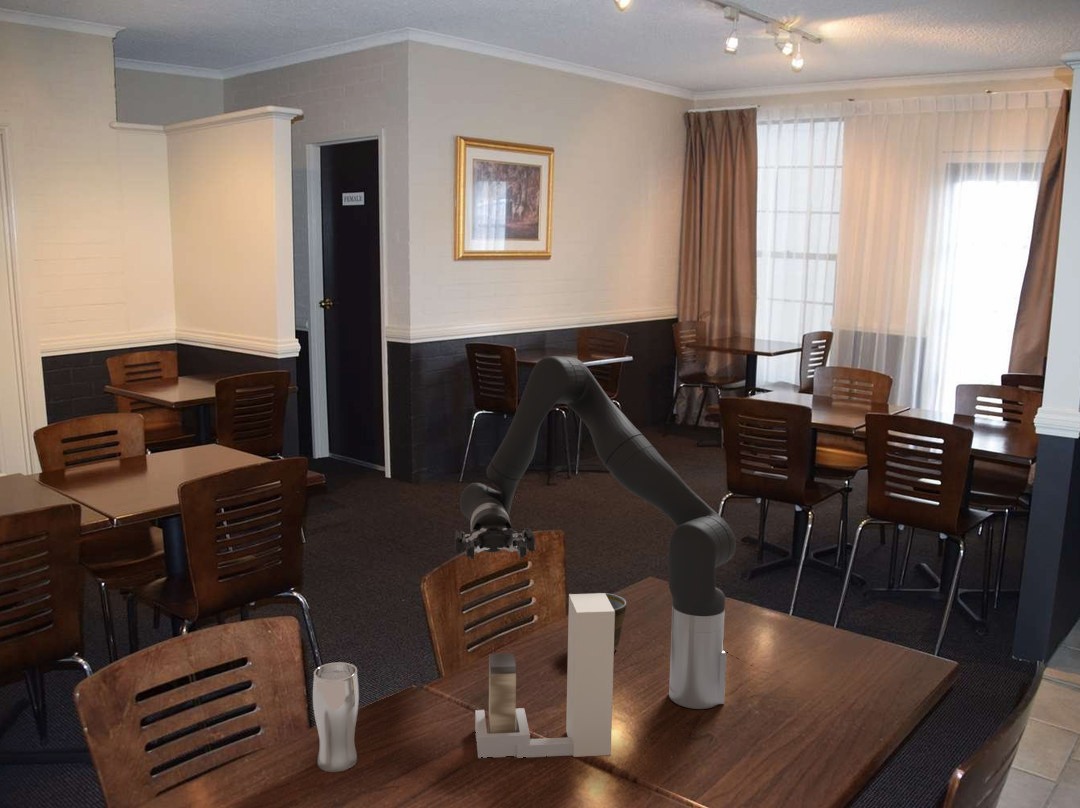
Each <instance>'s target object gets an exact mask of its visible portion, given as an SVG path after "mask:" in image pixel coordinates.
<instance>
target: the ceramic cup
mask: <svg viewBox="0 0 1080 808" xmlns="http://www.w3.org/2000/svg"><path fill="white" fill-rule="evenodd" d="M598 593H599V592H593V593H590V594H598ZM604 593H605V592H604ZM605 594H606V596H607V598H608V599H609V601H610V603H611V605H612V607H613V609H614V611H615V625H614V652H616V651H617V650H618V648H619V643H620V637H621V633H622V628H623V623H624V621H625V615H626V610H627V601H626V599H624V597H622V596H619V595H616V594H613V593H608V592H607V593H605ZM616 649H617V650H616ZM615 650H616V651H615Z"/></svg>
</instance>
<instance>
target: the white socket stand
mask: <svg viewBox="0 0 1080 808" xmlns="http://www.w3.org/2000/svg"><path fill="white" fill-rule="evenodd" d="M597 593H598V594H591V593H569V594H568V624H567V625H568V626H567V628H568V629H567V631H568V632H567V633H568V634H567V637H568V638H567V673H566V674H567V676H566V677H567V678H566V679H567V681H566V683H567V684H566V720H565V723H566V724H565V725H566V726H565V727H566V730H565V731H566V735H567V736H566V737H548V738H531V734H530V730H529V725H528V719H527V715H526V711H525V708H524V707H523V708H521V707H519V708H516V714H515V733H496V734H489V733H488V729H487V720H486V713H485V709H475V711H474V712H475V713H474V714H475V715H474V716H475V717H474V718H475V719H474V720H475V722H474V724H475V726H474V732H476V733H475V741H476V742H477V743H476V750H477V759H488V758H487V757H493V758H507V757H506V756H514V757H516V759H522V758H523V757H526V758H527V759H528V758H543V757H546V756H547V757H563V756H565V757H566V756H567V757H568V756H573V758H576V757H577V758H579V757H599V756H611V755H612V729H613V727H612V725H613V721H612V720H613V695H614V694H613V691H614V689H613V688H614V685H613V684H614V654H615V651H614V625H615V611H614V609H613V607H612V605H611V603H610V601H609V599H608V598H607V596H606V594H605V592H597ZM481 757H483V758H481ZM523 759H524V758H523Z"/></svg>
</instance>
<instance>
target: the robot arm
mask: <svg viewBox="0 0 1080 808" xmlns="http://www.w3.org/2000/svg"><path fill="white" fill-rule="evenodd" d="M525 384H526V385H525V388H524V390H523V393H522V396H521V399H520V401H519V403H518V405H517V408H516V411H515V413H514V417H513V419H512V422H511V423H510V426H509V428H508V430H507V432H506V435H505V436H504V437H503V440H502V442H501V443H500V445H499V447H498V449H497V451H496V452H495V453H494V456H493V457H492V458H491V461H490V462H489V465H488V466H487V468H486V476H487V478H488V479H489V481H490V482H491V483H493V484H494V485H495V486H496V487H497V488H498V489H499V490H500V491H499V490H495V489H494V488H492V487H490V486H487V485H486V484H483V483H481V482H472V483H470V484H467V486H465V488H464V489H463V491H462V492H461V495H460V499H459V508H460V510H461V511H460V512H461V514H463V516H464V517H466V519H467V520H468V521H469V522H470V533H466V532H464V531H463V530H462V529H457V530H455V535H454V552H455V553H457V554H460V553H462V551H464V553H465V557H468V558H469V559H470V560H475V553H477V554H478V553H481V552H485V553H493V554H494V553H498V552H501V551H503V550H505V551H507V552H510V553H513V552H517V553H518V557H519V559H524V558H525V556H527V555H528V552H534V551H536V535H534V534H535V533H533V531H532V529H531V528H528V527H527V528H524V530H522V532H517V531H516V530H514V529H513V526H512V523H511V521H510V520H511V519H510V512H511V508H512V503H513V499H514V495H515V492H516V489H517V487H518V485H519V483H520V481H521V479H522V477H524V474H525V473H526V471H527V469H528V467H529V466H530V464H531V463H532V460H533V458H534V455H535V452H536V448H537V441H538V435H539V431H540V429H541V428H540V427H541V425H542V423H543V421H544V420H545V418H546V416H548V414H549V412H550V411H551V410H552V409H553V408H554V406H556V404H558V405H559V404H565V405H566V406H568V407H569V408H570V410H572V411H573V412H574V413H575V414H576V415H577V416H578V417H579V419H580V420H581V421H582V422H583V423H584V424H585V426H586V427H587V429H588V431H589V434H590V435H591V438H592V439H591V440H592V442H593V445H594V449H595V451H596V454H597V456H598V458H599V460H600V462H602V464H603V465H604V467H605V468H606V470H608V472H609V473H611V475H612V477H614V479H616V481H617V482H618V483H619V485H620V486H622V487H623V488H624V489H625V490H626V491H628V492H630V493H631V494H632V495H634V496H636V497H637V498H639V499H640V500H643V501H644V502H646V503H648V504H649V505H652V506H653V507H655V508H657V509H658V510H659V511H661V512H662V513H663V514H665V516H667V518H669V519H670V520H671V522H673V524H674V525H675V528H674V530H673V531H672V533H671V535H670V539H669V542H668V552H667V554H668V559H667V561H668V569H667V570H668V588H669V591H670V594H671V597H672V608H671V609H672V610H671V614H672V615H671V635H670V637H671V638H670V660H669V664H670V665H669V683H668V687H669V688H668V689H669V690H668V691H669V692H668V697H669V699H670V700H671V701H672V702H674V703H675V704H676V705H679V706H682V707H684V708H688V709H693V710H694V709H695V710H696V709H697V710H705V709H710V708H713V707H716V706H718V705H723V704H725V697H726V696H725V694H726V693H725V691H726V675H727V673H726V672H727V653H726V652H725V651H724V650H723V640H724V632H725V613H726V611H725V610H726V609H725V608H726V596H725V592H723V590H721V589H720V588H718V587H716V568H718V567H719V566H722V565H725V564H726V563H728V561H730V560H731V559H733V557H734V555H735V554H736V549H737V540H736V537H735V534H734V532H733V530H732V528H731V527H730V525H729V524H728V523H727V522H726V521H725V519H724V518H723V517H722V516H720V514H719V513H717V511H715V510H714V509H713V508H712V507H710V505H709V504H708V503H706V501H704V500H703V499H702V498H701V497H700V496H699V495H698V494H697V493H696V492H694V491H693V489H692V488H691V487H689V486H688V484H687V483H686V482H685V481H684V480H683V479H682V478H681V476H680V475H679V474H678V473H677V472H676V471H675V470H674V469H673V468H672V467H671V465H669V463H668V462H667V461H666V460H665V459H664V458H663V456H661V454H660V453H659V452H658V449H656V448H655V447H654V446H653V444H651V442H650V441H649V440H648V439H647V438H646V437H645V435H643V433H642V432H641V431H640V430H639V429H638V428H636V426H635V425H634V424H633V422H631V421H630V420H629V419H628V417H627V416H626V414H624V413H623V412H622V410H620V409H619V407H617V405H616V404H615V403H614V402H613V401H612V400H611V398H610V397H609V396H608V394H607V393H606V391H604V389H603V387H602V386H601V385H600V383H599V381H597V379H596V378H595V376H594V375H593V374H592V372H591V371H590V369H589V367H587V366H586V365H585V364H584V362H583V361H581V360H579V359H578V358H575V357H571V356H559V355H554V356H553V355H552V356H546V357H543V358H541V359H540V360H538V361H537V362H536V364H534V366H533V369H532V370H531V373H530V374H529V377H528V380H527V382H526V383H525Z"/></svg>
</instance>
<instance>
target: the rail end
mask: <svg viewBox="0 0 1080 808" xmlns="http://www.w3.org/2000/svg"><path fill="white" fill-rule="evenodd" d="M516 689H517V664H516V659H515V655H514V652H512V653H510V652H508V653H489V654H488V734H496V733H516V730H515V714H516V709H517V708H516V706H517V705H516V702H517V699H516V698H517V694H516V693H517V690H516Z"/></svg>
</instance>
